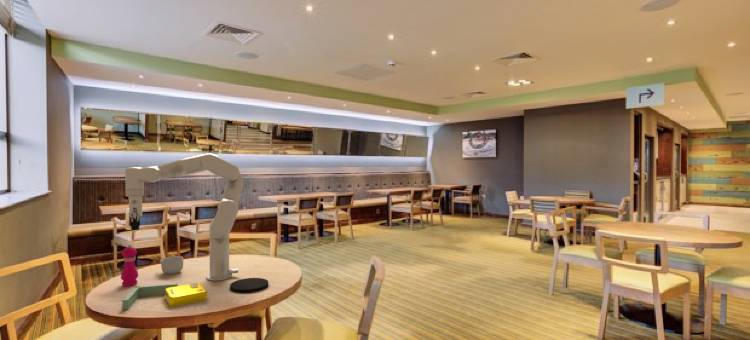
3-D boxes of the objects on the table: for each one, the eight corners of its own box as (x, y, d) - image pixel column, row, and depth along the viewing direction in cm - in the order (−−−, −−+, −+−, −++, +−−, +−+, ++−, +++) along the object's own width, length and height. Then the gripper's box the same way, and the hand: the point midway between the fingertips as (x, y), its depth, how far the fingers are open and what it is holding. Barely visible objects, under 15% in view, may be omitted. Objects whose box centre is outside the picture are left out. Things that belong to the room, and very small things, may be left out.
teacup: (187, 272, 208) (187, 257, 207) (167, 277, 198) (167, 262, 198) (173, 268, 215) (173, 254, 215) (153, 272, 206) (153, 258, 206)
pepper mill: (129, 287, 182) (129, 246, 181) (117, 286, 183) (116, 245, 183) (141, 283, 189) (141, 243, 188) (129, 281, 190) (129, 242, 190)
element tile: (164, 297, 170) (164, 287, 170) (199, 291, 179) (199, 281, 179) (169, 308, 158) (169, 296, 158) (207, 300, 167) (207, 289, 167)
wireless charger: (266, 292, 177) (266, 288, 177) (226, 294, 174) (226, 290, 174) (270, 280, 195) (270, 277, 195) (233, 282, 192) (233, 278, 192)
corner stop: (177, 291, 177) (177, 283, 177) (169, 305, 160) (169, 296, 160) (135, 295, 171) (135, 286, 171) (122, 310, 154) (122, 300, 154)
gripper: (143, 193, 176) (144, 230, 176) (144, 191, 191) (145, 224, 191) (124, 194, 172) (125, 231, 173) (126, 191, 187) (127, 226, 188)
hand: (135, 228), depth 182 cm, fingers open, 9 cm apart
